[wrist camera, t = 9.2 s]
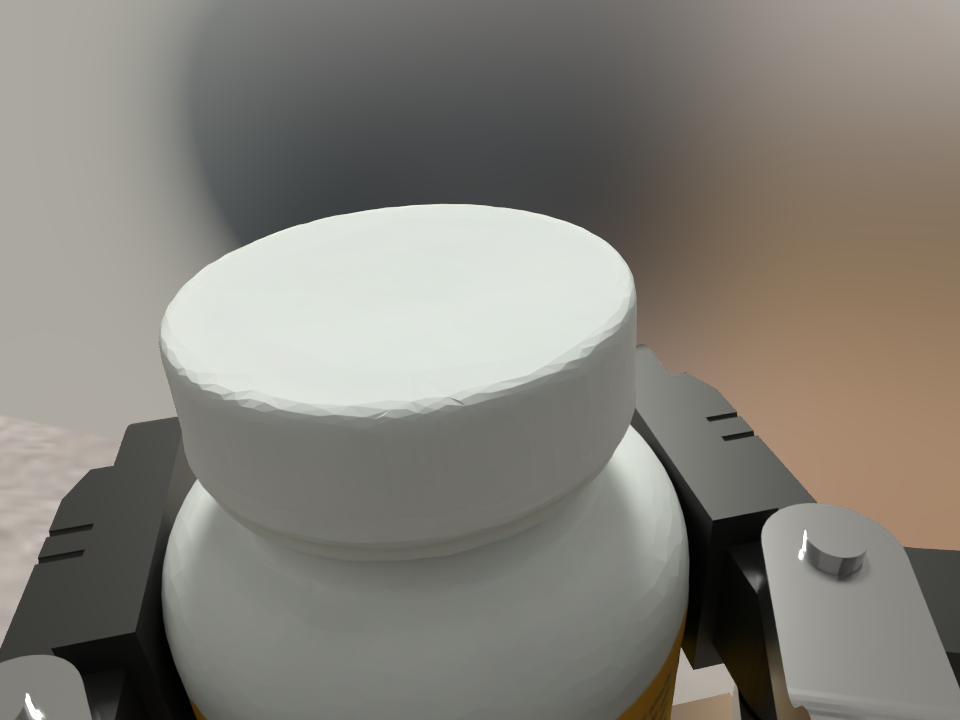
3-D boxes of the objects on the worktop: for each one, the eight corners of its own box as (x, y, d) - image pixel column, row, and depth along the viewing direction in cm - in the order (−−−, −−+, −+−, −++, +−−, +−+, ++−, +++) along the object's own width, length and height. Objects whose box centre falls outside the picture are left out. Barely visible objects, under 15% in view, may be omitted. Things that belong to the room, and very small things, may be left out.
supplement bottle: (251, 789, 12) (49, 246, 8) (530, 652, 14) (513, 152, 10) (360, 1215, 8) (70, 621, 3) (732, 942, 10) (886, 316, 5)
